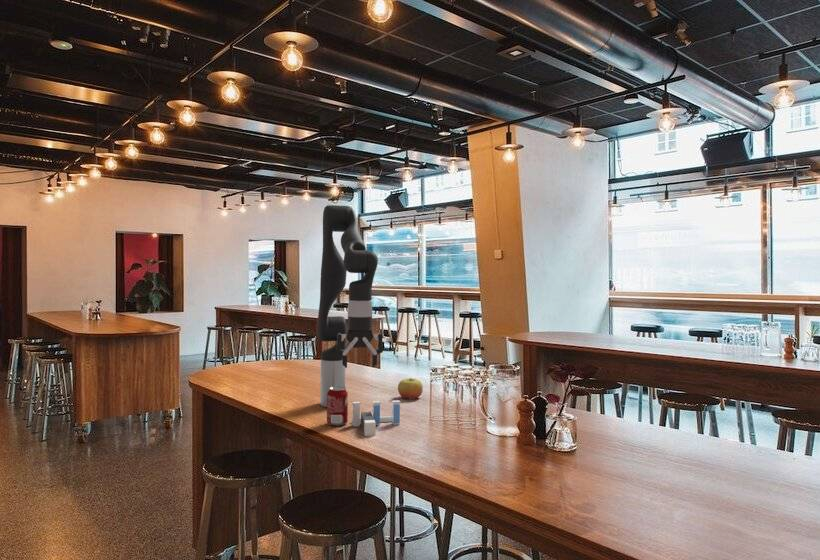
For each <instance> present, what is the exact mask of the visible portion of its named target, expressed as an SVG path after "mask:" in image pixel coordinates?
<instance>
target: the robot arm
mask: <svg viewBox="0 0 820 560" xmlns="http://www.w3.org/2000/svg"><path fill="white" fill-rule="evenodd" d="M334 232H336V233H337V232H339V233H342V234H341V237H340V246H341V249H342V250H343V253H344V255H343V256H344V257H342V255H341V253H340V252H339V250H338V249H337V248H338V247H336V244H335V241H334V237H333V233H334ZM321 255H322V256H321V267H320V286H319V287H320V288H319V289H320V292H319V304H318V305H319V307H318V316H317V325H316V335H317V339H318V341H319V342H335V344H333V346H330V347H329V348H327V349H324V350H323V351H321V352H320V406H322V407H324V408H327V393H328V391H329V388H330V387H334V386H343V387H346V369H347V368H348V355H347V354H348V353H349V351H351V349H352V348H354V349H359V348H361V349H365V348H368V349H369V350H370V352H371V353H372V354H371V368H375V366H377V364H378V355H379V354H383V352H384V345H383V344H384V343H383V334H382V333H381V332H379V333H373V301H372V299H373V297H372V295H373V294H372V290H373V282H374V278H375V274H376V271H377V268H378V262H379V258H378V255H377V253H376V252H375V251H374V250H367V248H366V244H365V241H363V239H362V237H361V233H360V228H359V223H358V220H357V215H356V211H355V210H354V208H353V207H351V206H349V205H334V204H332V205H331V204H330V205H329V204H328V205H326V206H325V207H324V208H323V212H322V254H321ZM347 273H351V274H364V275H363V277H362V278H361V279H358V280H353V281H351V282H349V285H348V305H347V320H346V318H345V317H344V316H342V315H339V316H337V315H336V316H329V313H330V310H331V308H332V306H333V303H335V301H336V300H337V299H338V298H339V296H340V295H341V293H343V290H344V288H346V287H345V286H346V283H347ZM373 339H375V341H377V349H375V348H374V346H373V345H372V344H371V342H372V341H373ZM346 341H348V343H347V342H346Z"/></svg>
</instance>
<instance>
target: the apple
mask: <svg viewBox="0 0 820 560" xmlns="http://www.w3.org/2000/svg"><path fill="white" fill-rule="evenodd" d="M423 387H424V386H423V383H422V381H421V380H419V379H416V378H403V379H401V380H400V381H399V382H398V384H397V392H398V393H399V395H400V396H401V397H402V398H403V399H406V400H416V399H418V398H419V397H421V395H422V394H423V389H424V388H423Z"/></svg>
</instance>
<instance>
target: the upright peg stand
mask: <svg viewBox="0 0 820 560" xmlns="http://www.w3.org/2000/svg"><path fill="white" fill-rule="evenodd" d="M351 403H352V418H351V419H352V420H351V424H352V426H353V427H360V426H361V425H360V424H361V413H360V412H361V404H362V403H361V401H352V402H351ZM391 403H392V415H391V416H390V415H389V416H381V409H380V408H381V404H382V403H381V401H380V400H373V401H372V416H373V418H374V420H375V422H376V425H377V426H380V424H381V423H386V422H387V423H389V422H392V425H394V426H396V425H397V426H398V425H400V421H401V418H400V417H401V416H400V415H401V413H400V412H401V401H400V400H398V399H397V400H392V401H391Z"/></svg>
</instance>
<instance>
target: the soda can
mask: <svg viewBox="0 0 820 560" xmlns="http://www.w3.org/2000/svg"><path fill="white" fill-rule="evenodd" d="M346 387H347V386H345V387H343V386H334V387H330V388H329V391H328V393H327V407H326V423H327V424H328V425H329V426H332V427H341V426H344V425H346V424H347V423H348V418H349V417H348V410H349V409H348V405H349V404H348V403H349V402H348V398H349V392H348V391H347V390H346V389H347V388H346Z"/></svg>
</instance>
